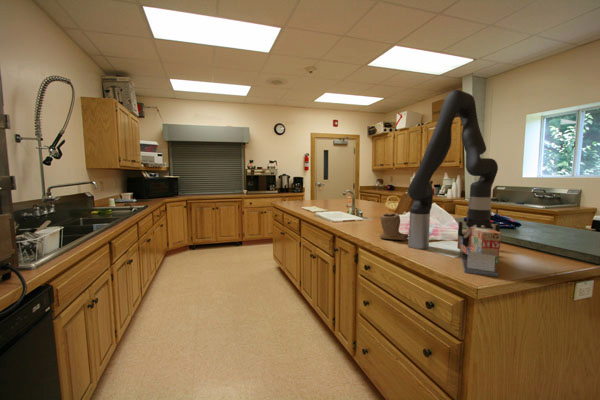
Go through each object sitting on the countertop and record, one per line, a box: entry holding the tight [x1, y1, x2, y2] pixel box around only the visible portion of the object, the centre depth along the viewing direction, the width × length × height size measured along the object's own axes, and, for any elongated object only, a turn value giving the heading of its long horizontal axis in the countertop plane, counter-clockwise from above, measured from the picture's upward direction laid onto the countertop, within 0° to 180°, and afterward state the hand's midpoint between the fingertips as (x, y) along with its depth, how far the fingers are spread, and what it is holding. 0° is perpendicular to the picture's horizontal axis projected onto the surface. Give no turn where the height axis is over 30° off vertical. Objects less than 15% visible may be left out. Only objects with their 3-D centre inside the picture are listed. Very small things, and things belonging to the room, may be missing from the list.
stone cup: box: [379, 212, 409, 241], centre depth 147 cm, size 15×12×15 cm
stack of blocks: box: [457, 226, 502, 266], centre depth 107 cm, size 21×6×12 cm, turn 170°
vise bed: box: [459, 250, 499, 278], centre depth 109 cm, size 10×36×8 cm, turn 151°
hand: (476, 247), depth 106 cm, fingers closed on stack of blocks, 7 cm apart
